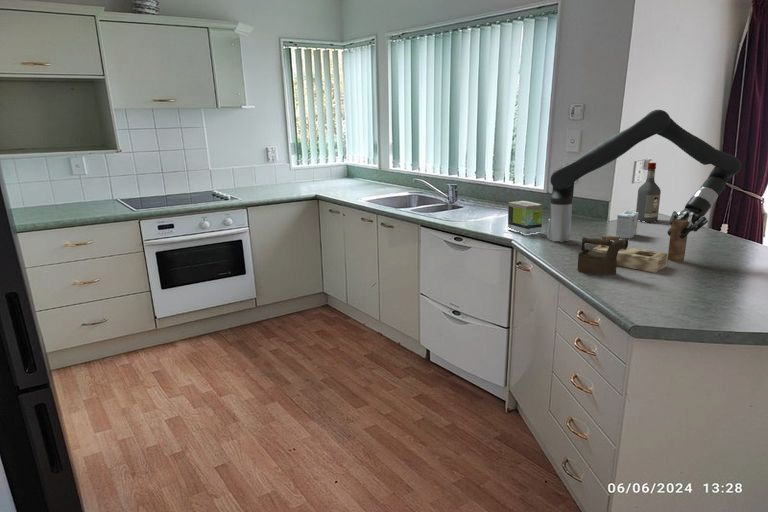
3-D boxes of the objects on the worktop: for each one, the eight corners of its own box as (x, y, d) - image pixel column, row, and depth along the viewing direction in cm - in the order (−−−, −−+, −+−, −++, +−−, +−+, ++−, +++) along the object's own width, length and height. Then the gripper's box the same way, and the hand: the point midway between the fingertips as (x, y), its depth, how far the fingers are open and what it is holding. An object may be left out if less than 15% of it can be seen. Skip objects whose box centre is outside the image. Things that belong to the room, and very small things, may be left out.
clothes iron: (620, 278, 176) (623, 242, 173) (575, 270, 187) (577, 236, 183) (627, 272, 182) (630, 237, 178) (583, 265, 192) (585, 231, 189)
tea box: (542, 233, 243) (543, 204, 239) (525, 236, 239) (526, 206, 235) (523, 228, 256) (524, 199, 252) (506, 230, 253) (507, 201, 249)
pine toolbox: (591, 260, 198) (593, 236, 195) (603, 255, 204) (604, 232, 201) (656, 272, 180) (658, 246, 178) (666, 266, 187) (669, 241, 184)
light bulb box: (621, 232, 238) (623, 210, 235) (636, 234, 234) (639, 212, 231) (615, 237, 230) (617, 214, 227) (630, 239, 226) (632, 216, 223)
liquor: (632, 220, 262) (637, 163, 254) (645, 218, 265) (651, 161, 257) (646, 223, 254) (652, 164, 245) (660, 221, 257) (666, 162, 248)
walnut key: (667, 260, 194) (672, 220, 190) (674, 258, 196) (679, 218, 191) (676, 262, 191) (681, 221, 186) (684, 261, 192) (689, 220, 188)
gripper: (680, 193, 195) (654, 226, 195) (715, 198, 183) (687, 234, 182) (688, 205, 199) (663, 238, 198) (723, 210, 186) (696, 246, 185)
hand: (675, 236), depth 190 cm, fingers open, 4 cm apart
